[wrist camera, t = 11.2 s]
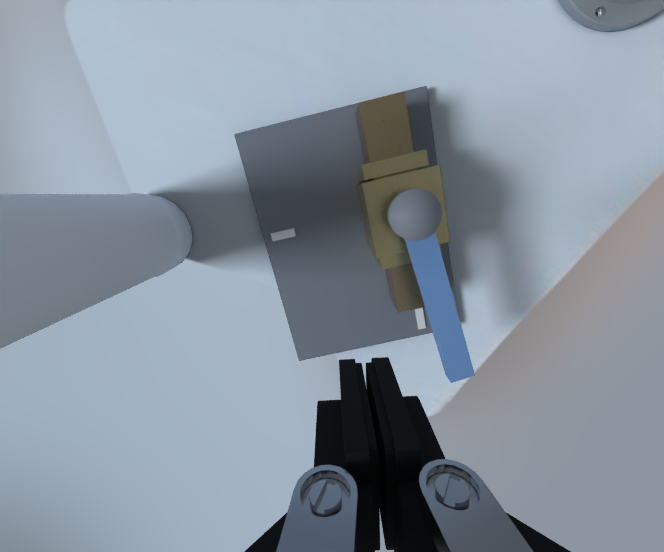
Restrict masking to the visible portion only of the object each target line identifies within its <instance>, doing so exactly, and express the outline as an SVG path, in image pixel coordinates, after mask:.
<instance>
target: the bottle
mask: <svg viewBox="0 0 664 552" xmlns="http://www.w3.org/2000/svg"><path fill="white" fill-rule="evenodd" d="M191 244H192V232H191V226H190V224H189V222H188V220H187V218H186V216H185V214H184V213H183V212H182V211H181V210H180V209H179V208H178V207H177V206H176V205H175V204H174V203H172V202H171V201H169V200H167V199H165V198H163V197H160V196H154V195H145V194H139V193H131V194H122V195H120V194H118V195H117V194H116V195H115V194H109V195H108V194H106V195H104V194H0V348H2V347H5V346H7V345H9V344H11V343H13V342H15V341H17V340H20V339H22V338H24V337H26V336H28V335H30V334H32V333H35V332H37V331H39V330H41V329H43V328H45V327H47V326H50V325H52V324H54V323H56V322H58V321H60V320H63V319H65V318H67V317H69V316H71V315H73V314H75V313H77V312H80V311H82V310H84V309H86V308H88V307H90V306H93V305H95V304H97V303H99V302H101V301H103V300H105V299H108V298H110V297H112V296H114V295H116V294H118V293H121V292H122V291H125V290H127V289H129V288H131V287H133V286H136V285H138V284H140V283H142V282H144V281H146V280H148V279H150V278H153V277H156V276H159V275H161V274H164V273H166V272H167V271H169V270H170V269H172V268H174V267H175V266H177V265H178V264H180V263H182V262H183V261H184V259H185V258H186V256H187V255H188V254H189V252H190V248H191Z"/></svg>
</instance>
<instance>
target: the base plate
mask: <svg viewBox="0 0 664 552" xmlns="http://www.w3.org/2000/svg"><path fill="white" fill-rule="evenodd" d="M404 93H405V99H406V106H407V112H408V119H409V125H410V132H411V138H412V145H413V151H414V152H417V151H421V150H427V157H428V164H429V165H427V166H424V167H420V168H417V169H416V170H420V169H424V168H428V167H433V166H437V160H436V153H435V145H434V138H433V131H432V123H431V116H430V109H429V101H428V94H427V87H426V86H424V87H420V88H416V89H412V90H408V91H404ZM358 104H359V103H357V104H353V105H349V106H345V107H341V108H337V109H333V110H329V111H325V112H321V113H317V114H313V115H309V116H305V117H301V118H297V119H293V120H289V121H285V122H281V123H277V124H273V125H269V126H265V127H261V128H257V129H253V130H249V131H245V132H241V133H237V134H234V135H235V139H236V142H237V146H238V149H239V153H240V156H241V160H242V163H243V167H244V170H245V174H246V177H247V181H248V184H249V188H250V191H251V195H252V198H253V202H254V205H255V209H256V212H257V216H258V219H259V223H260V226H261V230H262V233H263V237H264V240H265V244H266V247H267V251H268V254H269V258H270V261H271V265H272V268H273V272H274V275H275V278H276V282H277V285H278V289H279V292H280V296H281V299H282V303H283V306H284V309H285V313H286V317H287V320H288V324H289V327H290V331H291V334H292V338H293V341H294V344H295V348H296V351H297V355H298V358H299V361H301V360H306V359H310V358H315V357H320V356H325V355H329V354H334V353H339V352H343V351H348V350H353V349H358V348H362V347H367V346H372V345H376V344H381V343H386V342H390V341H395V340H400V339H405V338H409V337H414V336H419V335H423V334H428V333H433V331H432V328H431V324H430V321H429V318H428V315H427V311H426V308H425V307H423V308H418V309H414V310H409V311H404V312H400V313H398V311H397V310H396V308H395V306H394V304H393V303H392V301H391V298H390V293H389V287H388V282H387V277H386V272H385V269H383V270H382V269H381V267H380V266H379V264H378V263H377V262H376V260H375V259H374V256H373V252H372V251H371V250H370V248H369V247H368V246H367V241H366V236H365V231H364V226H363V221H362V216H361V211H360V206H359V201H358V197H357V192H356V187H355V186H356V185H359V184H362V183H366V182H368V181H364V182H360V183H359V180H358V175H357V169H358V168H359V167H360V166H361V165H363V164H365V162H364V157H363V152H362V147H361V142H360V136H359V131H358V126H357V121H356V116H355V114H356V111H357V107H358ZM440 248H441V255H442V258H443V262H444V266H445V269H446V273H447V276H448V280H449V284H450V287H451V291H452V294H453V298H454V302H455V305H456V299H455V292H454V285H453V277H452V270H451V263H450V255H449V248H448V242H446V243H442V244H440ZM456 309H457V307H456Z"/></svg>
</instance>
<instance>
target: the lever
mask: <svg viewBox="0 0 664 552" xmlns="http://www.w3.org/2000/svg"><path fill="white" fill-rule="evenodd" d="M441 218H442V208H441V204H440V202H439V200H438V199H437V197H436V196H435V195H434V194H432V193H431V192H429V191H427V190H424V189H409V190H405V191H403V192H401V193H399V194H398V195H396V196H395V197H394V198H393V200H392V201H391V203H390V205H389V207H388V212H387V219H388V223H389V226H390V227H391V229H392V230H393V231H394V232H395V233H396V234H397V235H399V236H401V237H402V238H404V239H405V242H406V245H407V249H408V252H409V255H410V259H411V262H412V265H413V268H414V272H415V275H416V278H417V282H418V285H419V288H420V291H421V295H422V298H423V301H424V305H425V308H426V311H427V315H428V318H429V321H430V324H431V328H432V331H433V334H434V338H435V341H436V344H437V348H438V351H439V354H440V357H441V361H442V364H443V367H444V371H445V374H446V376H447V377H448V379H449V380H450V382H451V383H452V382H455V381H458V380H462V379H465V378H468V377H471V376H474V375H475V374H474V370H473V367H472V363H471V360H470V356H469V352H468V349H467V345H466V341H465V338H464V334H463V331H462V327H461V323H460V320H459V316H458V313H457V309H456V305H455V302H454V298H453V294H452V291H451V287H450V284H449V280H448V276H447V273H446V269H445V266H444V262H443V258H442V255H441V251H440V247H439V244H438V240H437V237H436V233H435V231H436V230H437V228H438V226H439V224H440V222H441Z"/></svg>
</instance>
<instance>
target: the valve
mask: <svg viewBox="0 0 664 552" xmlns="http://www.w3.org/2000/svg"><path fill="white" fill-rule="evenodd" d="M355 116H356V121H357V126H358V131H359V136H360V142H361V147H362V152H363V157H364V162H365V164H363V165H361V166H360V167H359V168H358V169H357V175H358V180H359V183H360V182H364V181H368V182H366V183H362V184H359V185H356V186H355V187H356V192H357V197H358V201H359V206H360V211H361V216H362V221H363V226H364V231H365V236H366V241H367V246H368V247H369V248H370V250H371V251H372V252H373V256H374V259H375V260H376V262H377V263H378V264H379V266H380V267H381V269H382V270H383V269H385V272H386V277H387V282H388V287H389V293H390V298H391V301H392V303H393V304H394V306H395V308H396V310H397V311H398V313H400V312H404V311H409V310H414V309H418V308H423V307H425V305H424V301H423V298H422V295H421V291H420V288H419V285H418V282H417V278H416V275H415V272H414V268H413V265H412V262H411V259H410V255H409V252H408V249H407V245H406V242H405V239H404V238H402V237H401V236H399V235H397V234H396V233H395V232H394V231H393V230H392V229H391V227H390V226H389V223H388V219H387V212H388V207H389V205H390V203H391V201H392V200H393V198H394V197H395V196H396V195H398V194H399V193H401V192H403V191H405V190H409V189H424V190H427V191H429V192H431V193H432V194H434V195H435V196H436V197H437V199H438V200H439V202H440V204H441V208H442V218H441V222H440V224H439V226H438V228H437V230H436V231H435V233H436V237H437V240H438V244H439V247H440V244H442V243H446V242H450V238H449V231H448V224H447V216H446V209H445V201H444V194H443V186H442V179H441V172H440V165H437V166H433V167H428V168H424V169H420V170H416V169H417V168H420V167H424V166H427V165H429V164H428V157H427V150H421V151H417V152H414V151H413V145H412V138H411V132H410V125H409V119H408V112H407V106H406V99H405V93H404V92H400V93H396V94H392V95H388V96H384V97H380V98H376V99H372V100H368V101H364V102H360V103H359V104H358V107H357V111H356V114H355ZM440 251H441V248H440Z"/></svg>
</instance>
